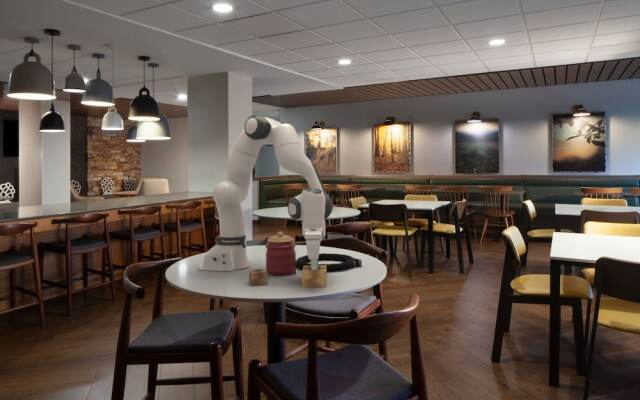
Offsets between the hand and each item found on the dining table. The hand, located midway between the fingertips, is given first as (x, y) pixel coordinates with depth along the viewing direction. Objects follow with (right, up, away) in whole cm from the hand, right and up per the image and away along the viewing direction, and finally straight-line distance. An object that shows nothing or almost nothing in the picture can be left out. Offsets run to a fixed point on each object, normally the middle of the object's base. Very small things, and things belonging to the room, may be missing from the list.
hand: (314, 266), depth 176 cm
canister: (-14, -6, +20) cm, 25 cm away
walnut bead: (-22, -7, +2) cm, 23 cm away
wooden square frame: (0, -7, +1) cm, 7 cm away
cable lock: (+6, -5, +31) cm, 32 cm away
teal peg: (0, -7, +1) cm, 7 cm away
